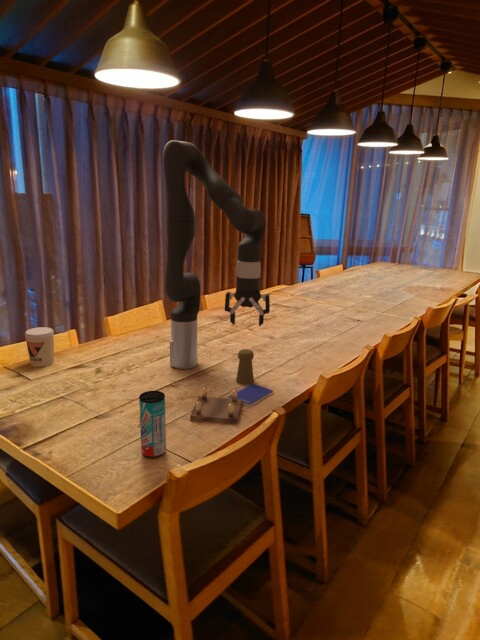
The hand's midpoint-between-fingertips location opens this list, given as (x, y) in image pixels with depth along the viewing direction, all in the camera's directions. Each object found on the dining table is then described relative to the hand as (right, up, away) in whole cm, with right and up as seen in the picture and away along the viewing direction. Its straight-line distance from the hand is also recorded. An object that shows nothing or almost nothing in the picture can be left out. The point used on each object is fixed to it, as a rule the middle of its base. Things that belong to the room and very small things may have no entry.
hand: (246, 324), depth 145 cm
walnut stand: (-9, -25, -15) cm, 31 cm away
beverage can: (-23, -31, -36) cm, 52 cm away
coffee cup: (-73, -14, +16) cm, 76 cm away
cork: (-1, -19, +6) cm, 20 cm away
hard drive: (+1, -23, -5) cm, 23 cm away
